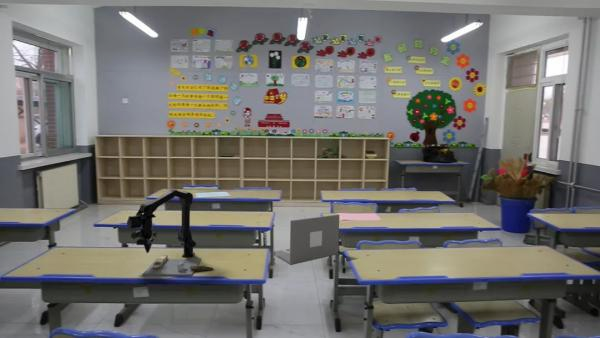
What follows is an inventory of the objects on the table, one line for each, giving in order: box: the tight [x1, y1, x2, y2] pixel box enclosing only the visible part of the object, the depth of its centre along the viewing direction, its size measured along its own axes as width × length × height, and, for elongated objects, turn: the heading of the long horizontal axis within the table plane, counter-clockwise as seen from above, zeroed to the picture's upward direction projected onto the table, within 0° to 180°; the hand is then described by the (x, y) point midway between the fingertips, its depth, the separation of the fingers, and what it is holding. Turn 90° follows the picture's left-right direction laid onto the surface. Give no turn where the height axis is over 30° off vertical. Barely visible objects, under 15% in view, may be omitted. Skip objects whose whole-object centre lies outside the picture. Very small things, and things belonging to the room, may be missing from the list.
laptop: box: [273, 214, 340, 266], centre depth 261 cm, size 35×26×27 cm
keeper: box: [178, 262, 186, 271], centre depth 230 cm, size 6×3×3 cm, turn 2°
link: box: [153, 254, 169, 269], centre depth 238 cm, size 18×4×3 cm, turn 2°
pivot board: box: [142, 258, 202, 277], centre depth 235 cm, size 25×26×1 cm
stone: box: [190, 265, 214, 272], centre depth 232 cm, size 13×5×2 cm, turn 102°
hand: (147, 252), depth 236 cm, fingers closed
